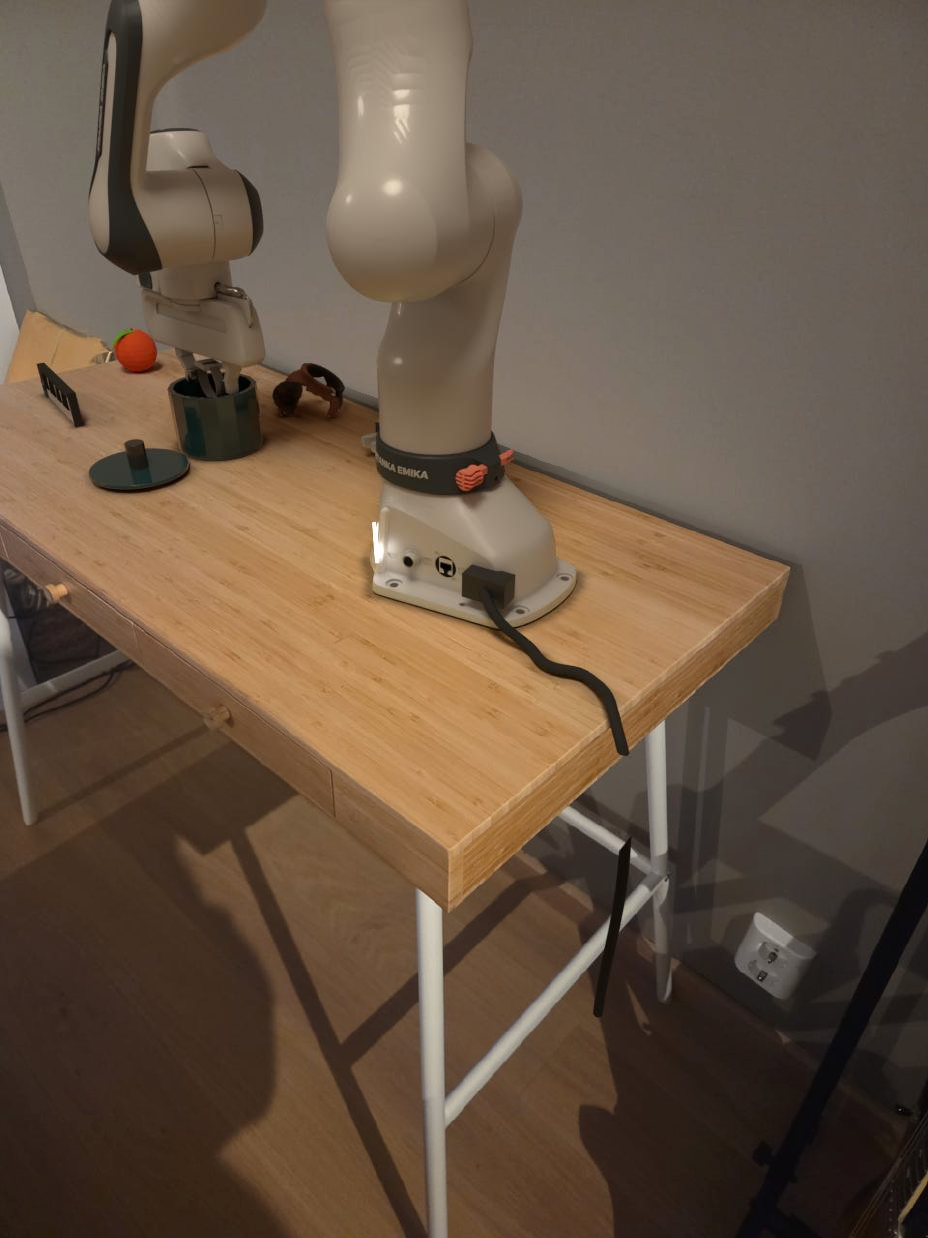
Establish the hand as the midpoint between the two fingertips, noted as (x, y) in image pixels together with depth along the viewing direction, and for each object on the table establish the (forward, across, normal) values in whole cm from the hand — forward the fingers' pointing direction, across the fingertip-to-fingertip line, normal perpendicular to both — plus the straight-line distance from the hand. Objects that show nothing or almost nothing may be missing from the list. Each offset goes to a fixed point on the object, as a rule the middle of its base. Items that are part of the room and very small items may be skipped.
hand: (212, 386), depth 111 cm
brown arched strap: (+8, 0, -16) cm, 18 cm away
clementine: (+8, +38, -12) cm, 41 cm away
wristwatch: (+2, 0, 0) cm, 2 cm away
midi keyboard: (+8, +30, +6) cm, 32 cm away
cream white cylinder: (+8, +26, -19) cm, 33 cm away
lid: (+8, 0, +13) cm, 15 cm away
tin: (+8, 0, 0) cm, 8 cm away
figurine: (+8, -22, -16) cm, 29 cm away
